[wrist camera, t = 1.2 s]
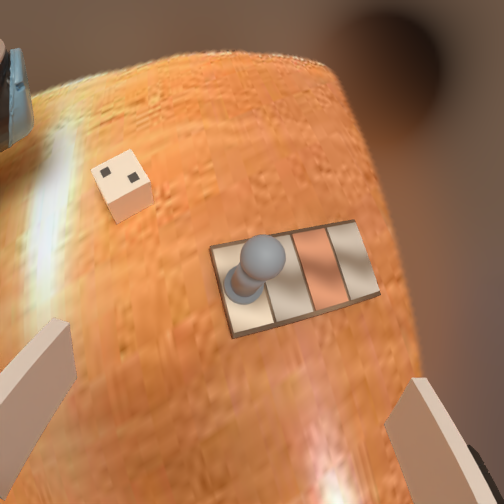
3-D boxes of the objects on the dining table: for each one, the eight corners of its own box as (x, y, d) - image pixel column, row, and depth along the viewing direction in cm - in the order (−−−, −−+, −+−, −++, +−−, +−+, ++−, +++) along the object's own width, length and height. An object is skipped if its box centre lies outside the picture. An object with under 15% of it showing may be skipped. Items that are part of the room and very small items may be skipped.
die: (100, 192, 42) (90, 169, 36) (135, 173, 44) (130, 148, 38) (116, 224, 41) (107, 203, 35) (154, 203, 43) (150, 180, 37)
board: (209, 249, 42) (210, 245, 41) (350, 223, 48) (355, 218, 47) (231, 338, 39) (233, 338, 38) (375, 296, 45) (382, 294, 43)
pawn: (219, 271, 40) (234, 229, 28) (255, 263, 41) (285, 220, 29) (228, 308, 39) (248, 282, 26) (266, 299, 40) (301, 270, 28)
